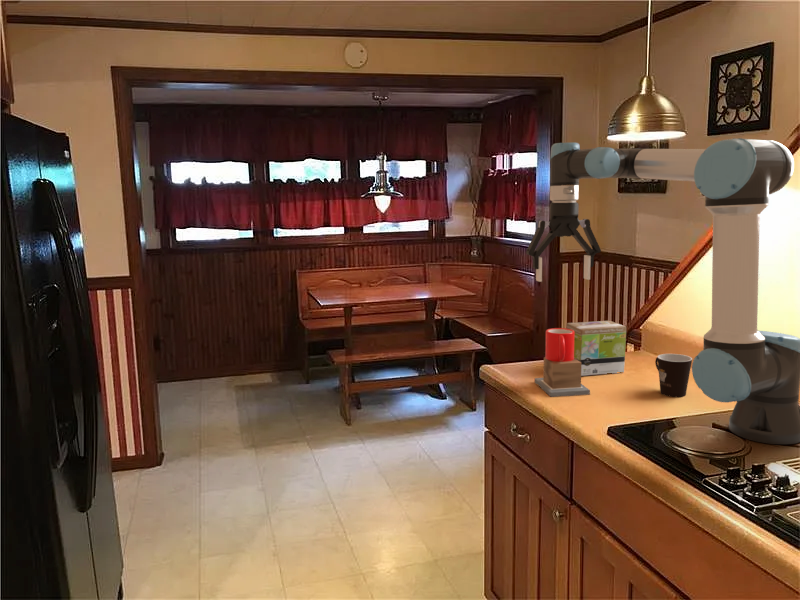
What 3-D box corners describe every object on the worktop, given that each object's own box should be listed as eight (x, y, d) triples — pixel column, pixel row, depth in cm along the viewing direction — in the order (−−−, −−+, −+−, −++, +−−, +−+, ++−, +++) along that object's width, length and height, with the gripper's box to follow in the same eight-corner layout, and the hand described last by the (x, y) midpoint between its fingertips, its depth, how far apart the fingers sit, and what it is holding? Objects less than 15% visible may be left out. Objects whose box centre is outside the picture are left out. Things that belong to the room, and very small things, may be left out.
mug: (548, 365, 180) (549, 337, 178) (543, 354, 191) (544, 327, 190) (578, 365, 179) (579, 337, 177) (571, 354, 190) (572, 327, 189)
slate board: (589, 394, 180) (589, 390, 180) (550, 396, 179) (550, 392, 179) (570, 380, 194) (571, 375, 194) (534, 382, 193) (534, 378, 193)
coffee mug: (693, 399, 174) (695, 362, 173) (659, 397, 176) (660, 361, 174) (684, 386, 186) (685, 351, 184) (651, 385, 187) (653, 350, 186)
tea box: (580, 377, 196) (581, 328, 194) (564, 369, 206) (565, 322, 204) (625, 373, 200) (627, 325, 197) (607, 364, 210) (609, 319, 207)
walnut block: (580, 387, 183) (581, 362, 182) (552, 388, 182) (553, 364, 181) (570, 379, 191) (570, 355, 189) (543, 380, 190) (543, 357, 189)
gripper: (523, 203, 173) (522, 283, 176) (614, 200, 176) (612, 280, 179) (515, 202, 180) (514, 280, 184) (603, 200, 183) (601, 276, 187)
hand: (562, 280), depth 181 cm, fingers open, 13 cm apart
